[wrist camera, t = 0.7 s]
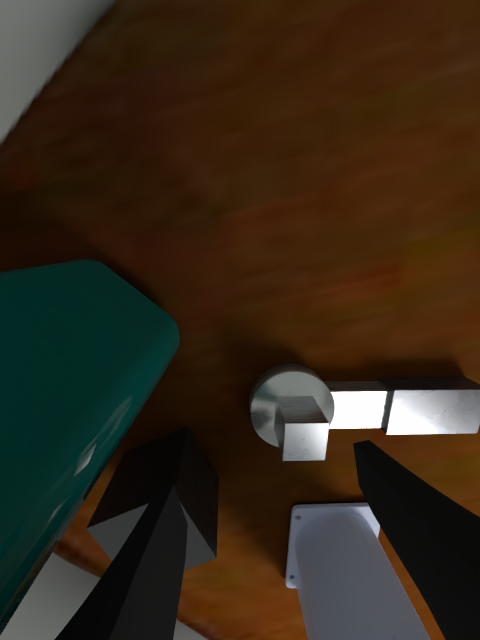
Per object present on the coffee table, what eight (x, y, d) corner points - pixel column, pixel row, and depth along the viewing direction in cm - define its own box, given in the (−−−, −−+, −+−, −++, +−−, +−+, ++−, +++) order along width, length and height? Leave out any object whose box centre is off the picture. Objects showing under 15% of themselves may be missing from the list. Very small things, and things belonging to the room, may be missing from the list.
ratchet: (468, 362, 20) (540, 395, 16) (451, 429, 22) (511, 477, 17) (250, 362, 19) (257, 397, 15) (247, 432, 21) (253, 484, 16)
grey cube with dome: (218, 479, 22) (216, 557, 16) (158, 503, 22) (135, 589, 17) (188, 426, 20) (174, 492, 15) (124, 453, 21) (86, 528, 15)
